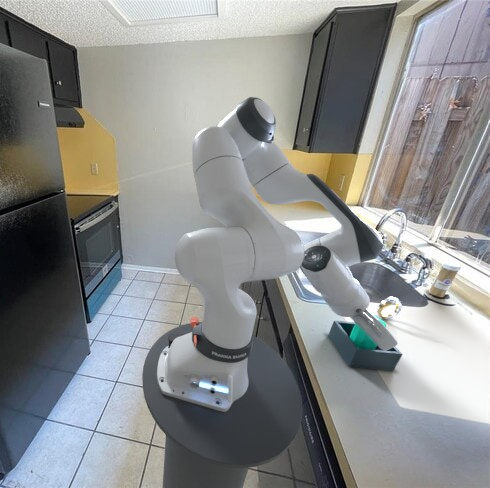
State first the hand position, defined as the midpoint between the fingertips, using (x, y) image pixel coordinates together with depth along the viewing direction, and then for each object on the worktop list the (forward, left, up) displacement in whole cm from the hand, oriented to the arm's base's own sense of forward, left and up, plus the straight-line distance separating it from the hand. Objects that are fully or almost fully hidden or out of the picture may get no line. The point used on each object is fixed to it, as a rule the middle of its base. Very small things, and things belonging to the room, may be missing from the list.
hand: (371, 331), depth 69 cm
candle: (-1, 0, -7) cm, 7 cm away
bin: (-1, 0, -8) cm, 8 cm away
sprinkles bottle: (+48, +35, -8) cm, 60 cm away
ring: (+17, +17, -8) cm, 25 cm away
